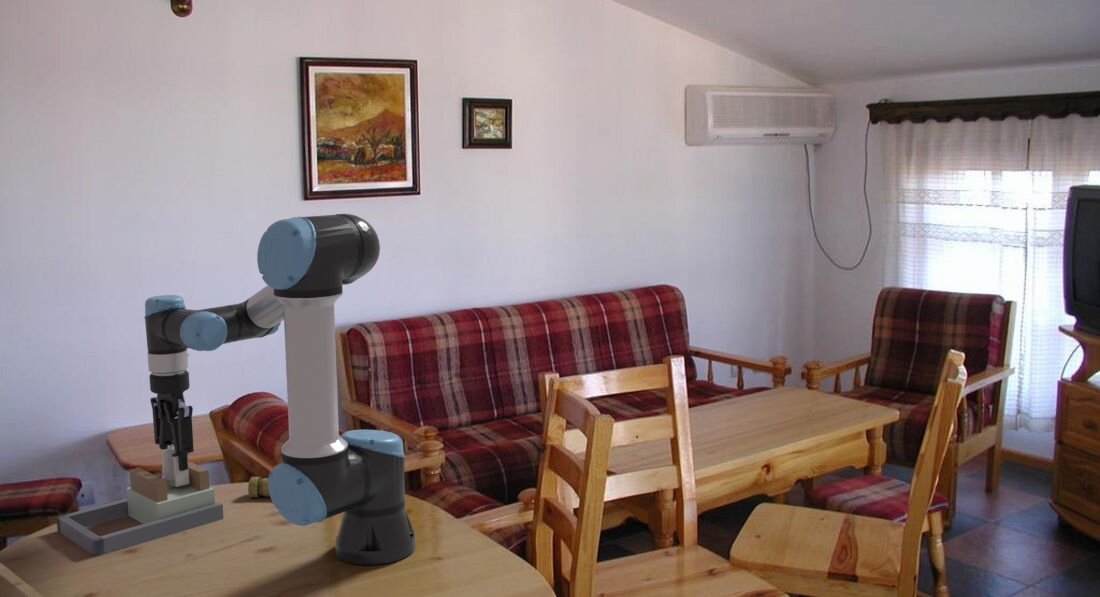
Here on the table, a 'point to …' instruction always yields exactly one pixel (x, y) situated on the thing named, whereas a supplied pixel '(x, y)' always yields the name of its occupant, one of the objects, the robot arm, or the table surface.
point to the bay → (100, 545)
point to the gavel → (258, 487)
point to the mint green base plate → (167, 494)
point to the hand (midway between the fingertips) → (176, 481)
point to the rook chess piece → (170, 466)
